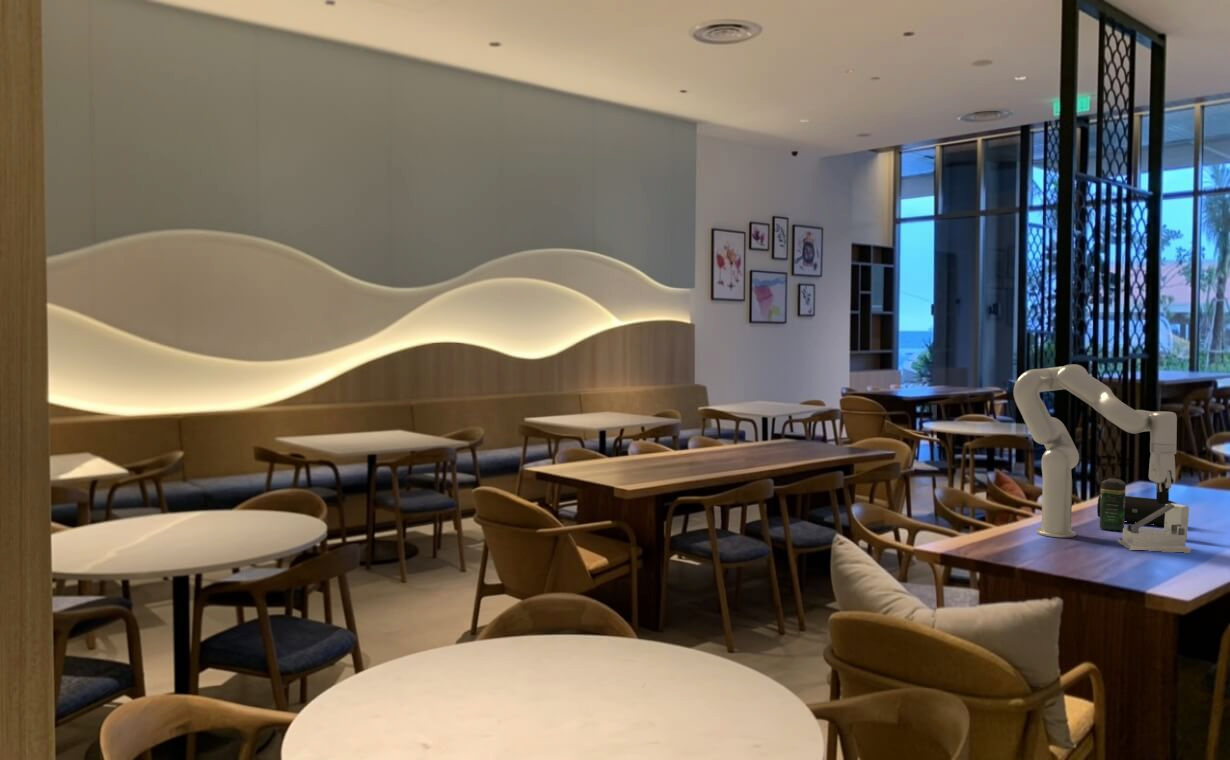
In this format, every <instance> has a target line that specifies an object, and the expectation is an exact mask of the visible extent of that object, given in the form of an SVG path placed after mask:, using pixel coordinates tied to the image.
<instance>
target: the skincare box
mask: <svg viewBox="0 0 1230 760" xmlns="http://www.w3.org/2000/svg"><path fill="white" fill-rule="evenodd" d="M1171 504H1172V505H1174V506H1175V507H1174V508H1172V509H1170V510H1169V511H1167V512H1165V523H1164V527H1163V529H1167V530H1171V524H1173V525H1177V531H1178V529H1179V528H1184V535H1186V541H1187V540H1188V532H1189V531H1188V527H1189V515H1190V505H1184V504H1180V503H1177V504H1174V503H1171ZM1166 505H1168V504H1166Z"/></svg>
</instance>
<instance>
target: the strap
mask: <svg viewBox="0 0 1230 760" xmlns="http://www.w3.org/2000/svg"><path fill="white" fill-rule="evenodd" d="M1174 507H1175V506H1174V505H1172V504H1170V503H1169V504H1168V505H1166V506H1164V507H1163V508H1161V509H1159V510H1157V511H1156V512H1154V513H1152V514H1151V515H1149V516H1147V517H1146V518H1144V519H1142V520H1140V521H1139V522H1137V523H1133V524H1131V525H1132V526H1129V528H1130V529H1131V530H1132V527H1137V528H1141V527H1144V526H1145V524H1147V523H1148V522H1150V521H1152V520H1153V519H1155V518H1157V517H1159V516H1160V515H1162V514H1164V513H1165V512H1167V511H1169V510H1170V509H1172V508H1174Z"/></svg>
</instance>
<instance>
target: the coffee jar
mask: <svg viewBox="0 0 1230 760" xmlns="http://www.w3.org/2000/svg"><path fill="white" fill-rule="evenodd" d="M1126 487H1127V486H1126V482H1124V480H1122V479H1119V478H1114V477H1113V478H1111V477H1110V478H1107V479H1104V480H1103V481H1101V485H1100V496H1101V503H1100V517H1099V529H1101V528H1102V529H1101V530H1106V529H1108V530H1114V531H1117V530H1121V531H1123V528H1125V522H1124V516H1125V496H1126V491H1127V490H1126ZM1108 530H1107V531H1108Z"/></svg>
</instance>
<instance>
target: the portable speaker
mask: <svg viewBox="0 0 1230 760" xmlns="http://www.w3.org/2000/svg"><path fill="white" fill-rule="evenodd" d="M1100 503H1101V495H1099V496H1098V499H1097V507H1096V508H1097V509H1096V512H1097V516H1098V518H1100ZM1169 503H1170V504H1171V503H1174V504H1178V503H1177V502H1174V501H1171V500H1169ZM1164 506H1166V504H1158V503H1156V498H1152V497H1151V498H1150V497H1141V496H1140V497H1139V496H1130V495H1129V496H1128V495H1125V516H1124V521H1127V522H1136V523H1137V522H1139V521H1140V520H1142V519H1144V518H1146V517H1147V516H1149V515H1151V514H1152V513H1154V512H1156V511H1157V510H1159V509H1161V508H1163V507H1164ZM1164 523H1165V513H1164V514H1162V515H1160V516H1159V517H1157V518H1155V519H1153V520H1152V521H1150V522H1148V523H1147V524H1154V525H1161V526H1160V527H1163V526H1164ZM1154 525H1153V526H1154Z"/></svg>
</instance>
